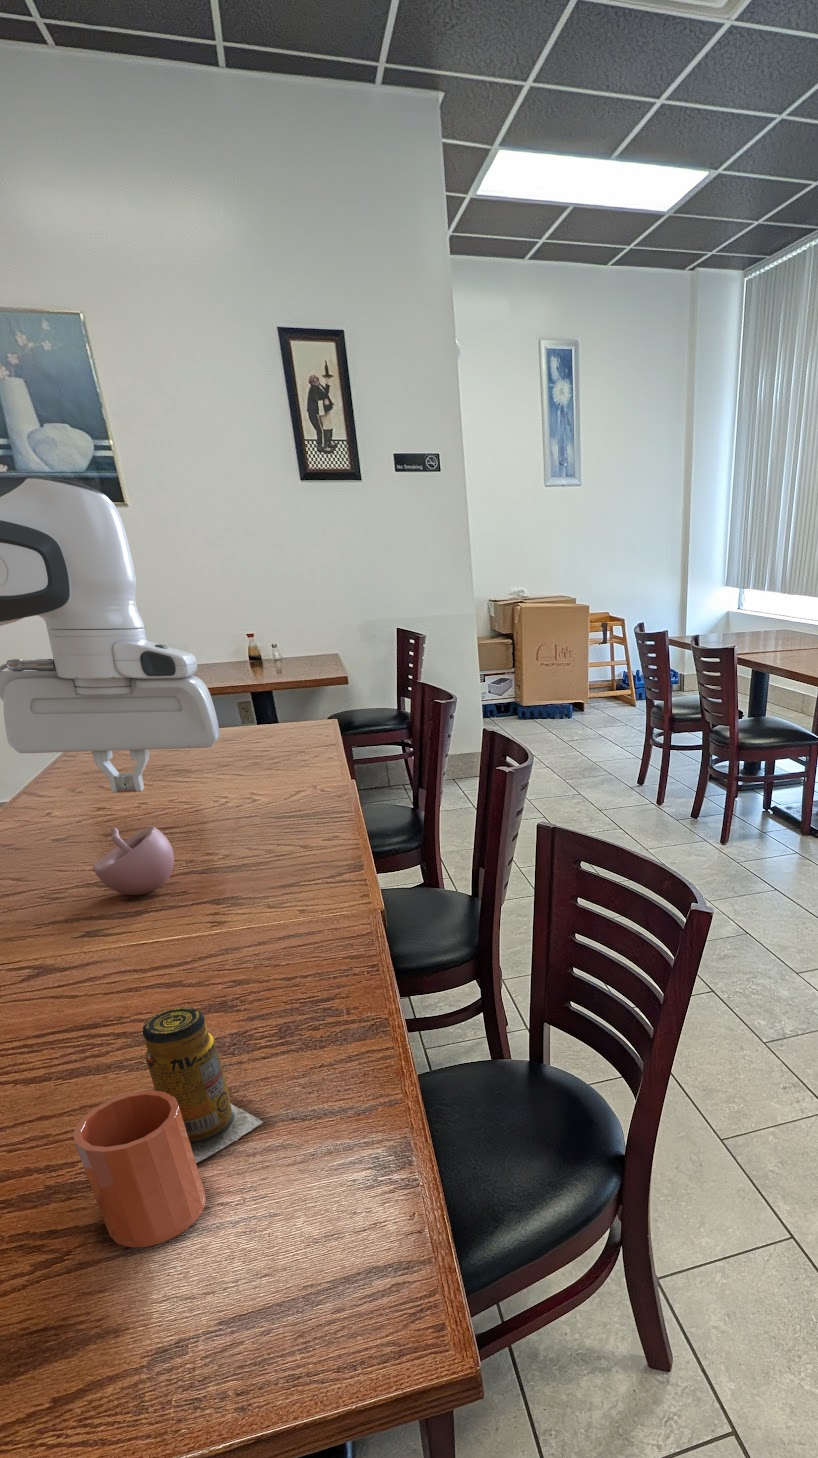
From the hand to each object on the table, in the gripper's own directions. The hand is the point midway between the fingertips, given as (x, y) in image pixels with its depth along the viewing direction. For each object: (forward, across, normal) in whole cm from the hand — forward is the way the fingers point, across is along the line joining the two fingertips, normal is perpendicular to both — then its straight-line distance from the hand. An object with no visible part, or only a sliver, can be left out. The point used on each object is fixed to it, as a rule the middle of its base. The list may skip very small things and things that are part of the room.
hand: (128, 791), depth 90 cm
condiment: (+28, +8, -25) cm, 38 cm away
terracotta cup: (+29, +5, -36) cm, 46 cm away
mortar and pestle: (+26, -12, +44) cm, 52 cm away
